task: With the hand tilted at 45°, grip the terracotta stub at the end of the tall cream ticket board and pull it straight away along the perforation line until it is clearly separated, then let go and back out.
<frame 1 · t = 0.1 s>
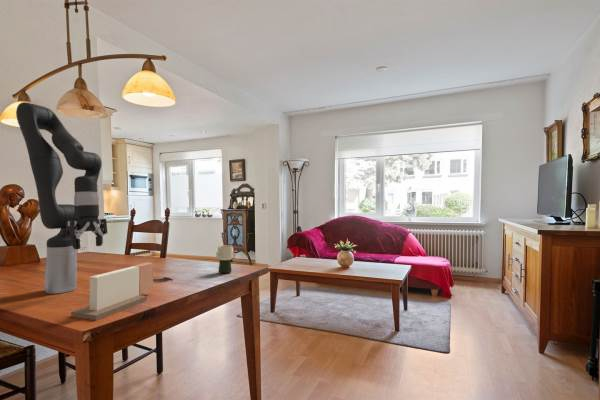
hand: (88, 247, 113), 17 cm above the table, tool pointing down, fingers open, 8 cm apart
parchment: (142, 286, 125), on the table
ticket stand: (118, 305, 101), on the table
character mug: (225, 273, 148), on the table
stub: (143, 278, 111), point 7 cm above the table, slide at 0.0 cm
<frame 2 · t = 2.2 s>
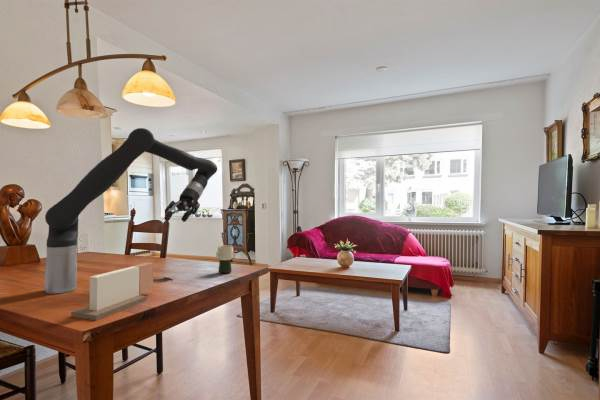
hand: (174, 220, 126), 27 cm above the table, tool tilted 45°, fingers open, 8 cm apart
nothing on the table moved.
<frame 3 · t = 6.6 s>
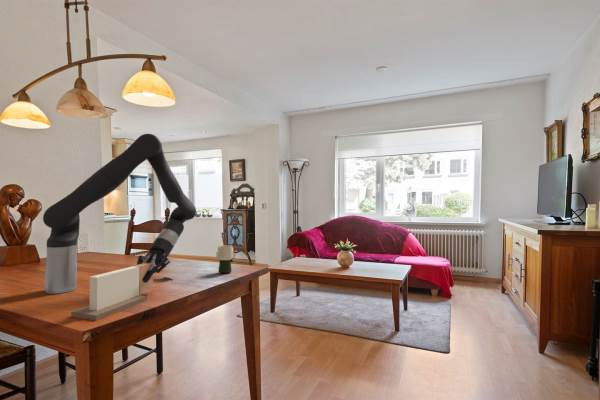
hand: (140, 280, 109), 6 cm above the table, tool tilted 45°, fingers closed on stub, 3 cm apart
stub: (143, 278, 111), point 7 cm above the table, slide at 0.0 cm, touching gripper
everything else where it was.
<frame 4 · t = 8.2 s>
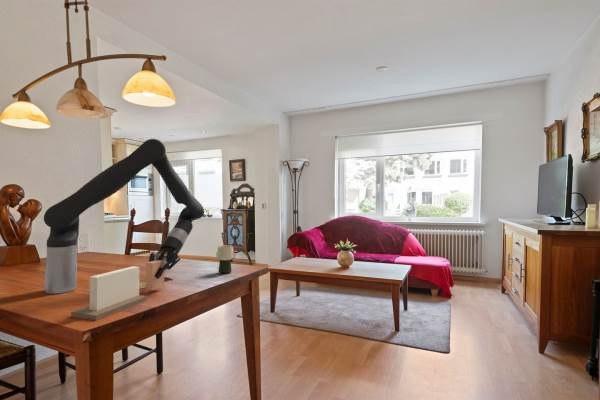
hand: (152, 276, 115), 6 cm above the table, tool tilted 45°, fingers closed on stub, 3 cm apart
stub: (155, 274, 116), point 7 cm above the table, slide at 5.8 cm, touching gripper
everything else where it was.
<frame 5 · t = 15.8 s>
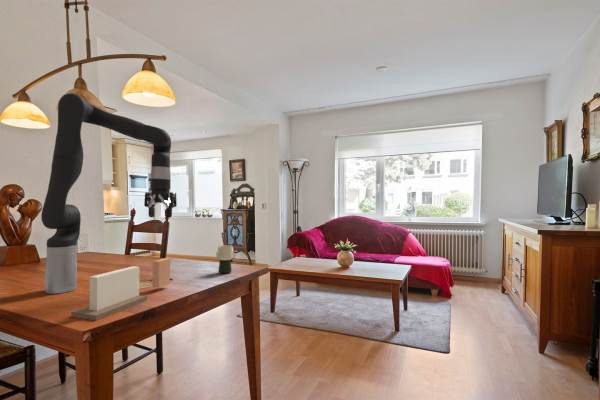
hand: (160, 217, 125), 28 cm above the table, tool pointing down, fingers open, 8 cm apart
stub: (161, 272, 119), point 7 cm above the table, slide at 9.0 cm
everything else where it was.
at the end: stub slide at 9.0 cm; the gripper is holding nothing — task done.
